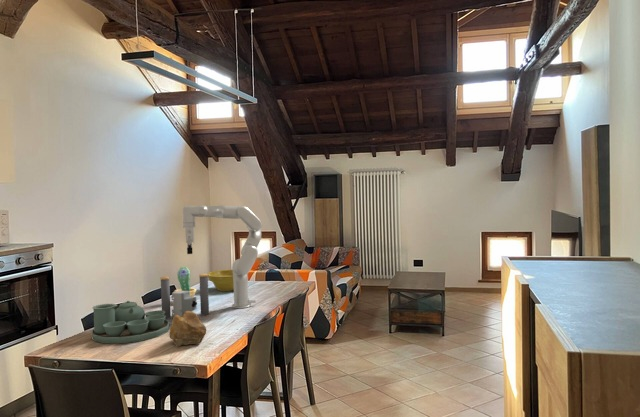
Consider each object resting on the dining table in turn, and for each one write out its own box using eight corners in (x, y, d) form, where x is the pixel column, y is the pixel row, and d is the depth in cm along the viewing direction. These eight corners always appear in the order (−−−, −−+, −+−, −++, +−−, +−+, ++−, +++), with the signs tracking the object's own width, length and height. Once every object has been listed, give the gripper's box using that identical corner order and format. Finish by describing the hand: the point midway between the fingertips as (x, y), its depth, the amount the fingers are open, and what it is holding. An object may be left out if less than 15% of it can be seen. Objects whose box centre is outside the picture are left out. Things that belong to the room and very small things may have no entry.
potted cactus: (169, 303, 329) (168, 267, 329) (183, 298, 344) (182, 264, 343) (187, 304, 324) (186, 268, 323) (201, 299, 338) (200, 265, 337)
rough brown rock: (197, 352, 224) (199, 320, 224) (163, 348, 226) (165, 317, 226) (213, 339, 247) (214, 310, 247) (182, 336, 249) (184, 308, 249)
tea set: (119, 349, 230) (118, 315, 230) (77, 337, 253) (75, 306, 253) (185, 329, 263) (184, 299, 262) (142, 320, 286) (141, 293, 285)
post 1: (170, 316, 291) (169, 276, 291) (170, 318, 286) (169, 277, 286) (162, 317, 290) (160, 277, 289) (161, 319, 285) (160, 278, 284)
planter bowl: (244, 293, 358) (243, 275, 357) (202, 294, 358) (201, 276, 358) (251, 285, 390) (250, 269, 390) (212, 286, 390) (211, 270, 390)
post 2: (208, 312, 298) (207, 273, 297) (209, 314, 293) (208, 274, 292) (200, 313, 296) (199, 274, 296) (200, 315, 291) (199, 275, 291)
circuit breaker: (193, 318, 286) (192, 293, 286) (172, 317, 289) (171, 293, 289) (199, 314, 294) (198, 291, 293) (178, 314, 296) (177, 290, 296)
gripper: (195, 225, 294) (195, 254, 295) (195, 224, 309) (195, 252, 309) (182, 226, 292) (183, 255, 293) (183, 224, 307) (183, 252, 307)
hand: (189, 253), depth 301 cm, fingers closed
